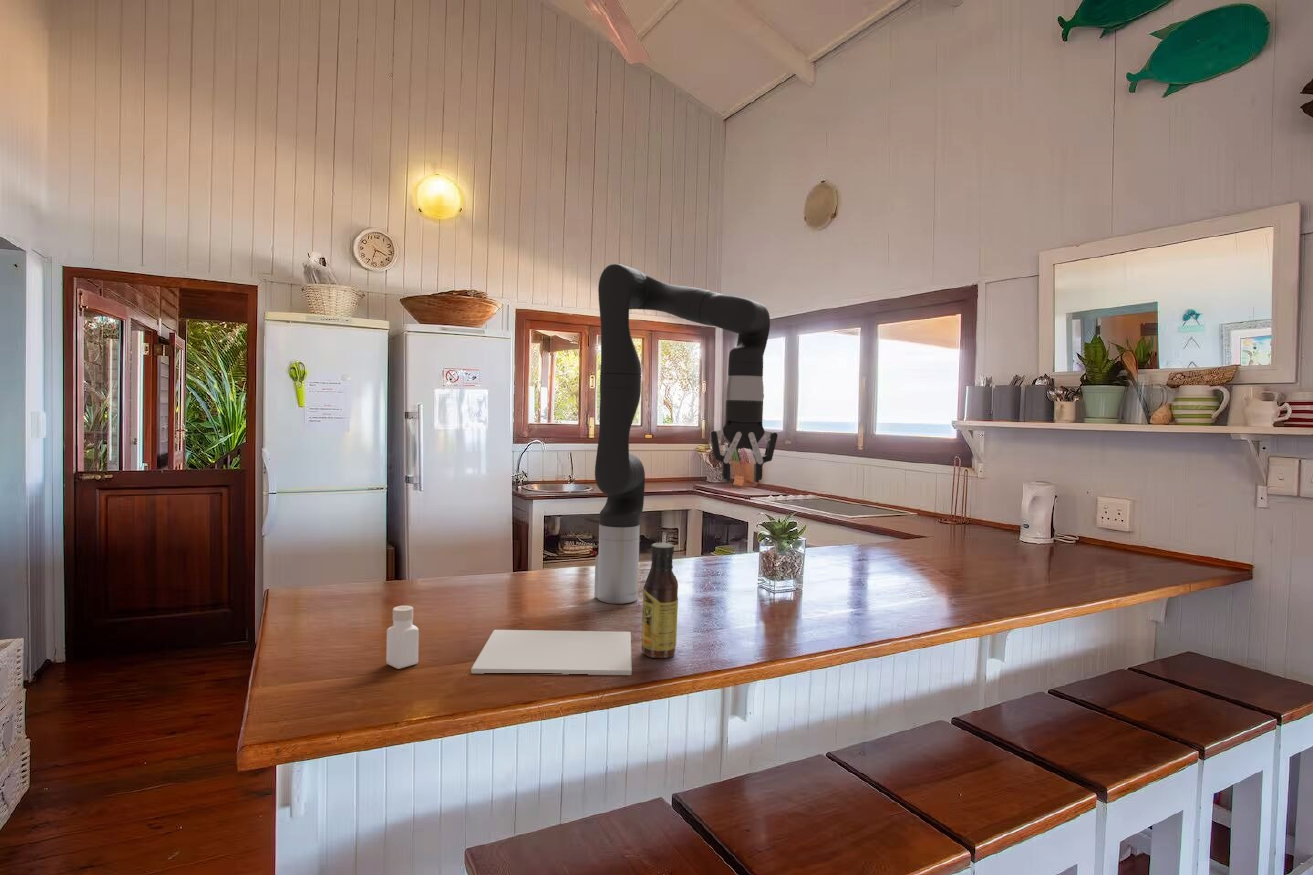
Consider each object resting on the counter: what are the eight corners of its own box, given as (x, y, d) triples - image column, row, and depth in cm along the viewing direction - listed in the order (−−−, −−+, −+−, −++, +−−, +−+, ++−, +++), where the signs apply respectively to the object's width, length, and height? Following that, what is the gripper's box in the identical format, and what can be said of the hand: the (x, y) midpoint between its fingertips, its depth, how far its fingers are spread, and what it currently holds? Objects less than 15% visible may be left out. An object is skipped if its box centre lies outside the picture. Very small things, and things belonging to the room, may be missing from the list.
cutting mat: (471, 673, 114) (471, 668, 114) (494, 633, 134) (494, 629, 134) (631, 675, 116) (631, 670, 116) (630, 635, 136) (630, 631, 135)
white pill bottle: (406, 658, 120) (407, 603, 120) (419, 664, 118) (420, 608, 117) (384, 664, 117) (385, 608, 117) (397, 670, 115) (398, 612, 114)
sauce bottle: (640, 648, 129) (643, 540, 128) (674, 648, 129) (677, 540, 128) (642, 660, 122) (645, 547, 121) (678, 660, 123) (681, 547, 122)
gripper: (775, 400, 147) (772, 481, 148) (707, 398, 146) (704, 479, 147) (783, 399, 140) (780, 484, 140) (711, 397, 139) (708, 483, 140)
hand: (741, 481), depth 144 cm, fingers open, 5 cm apart
